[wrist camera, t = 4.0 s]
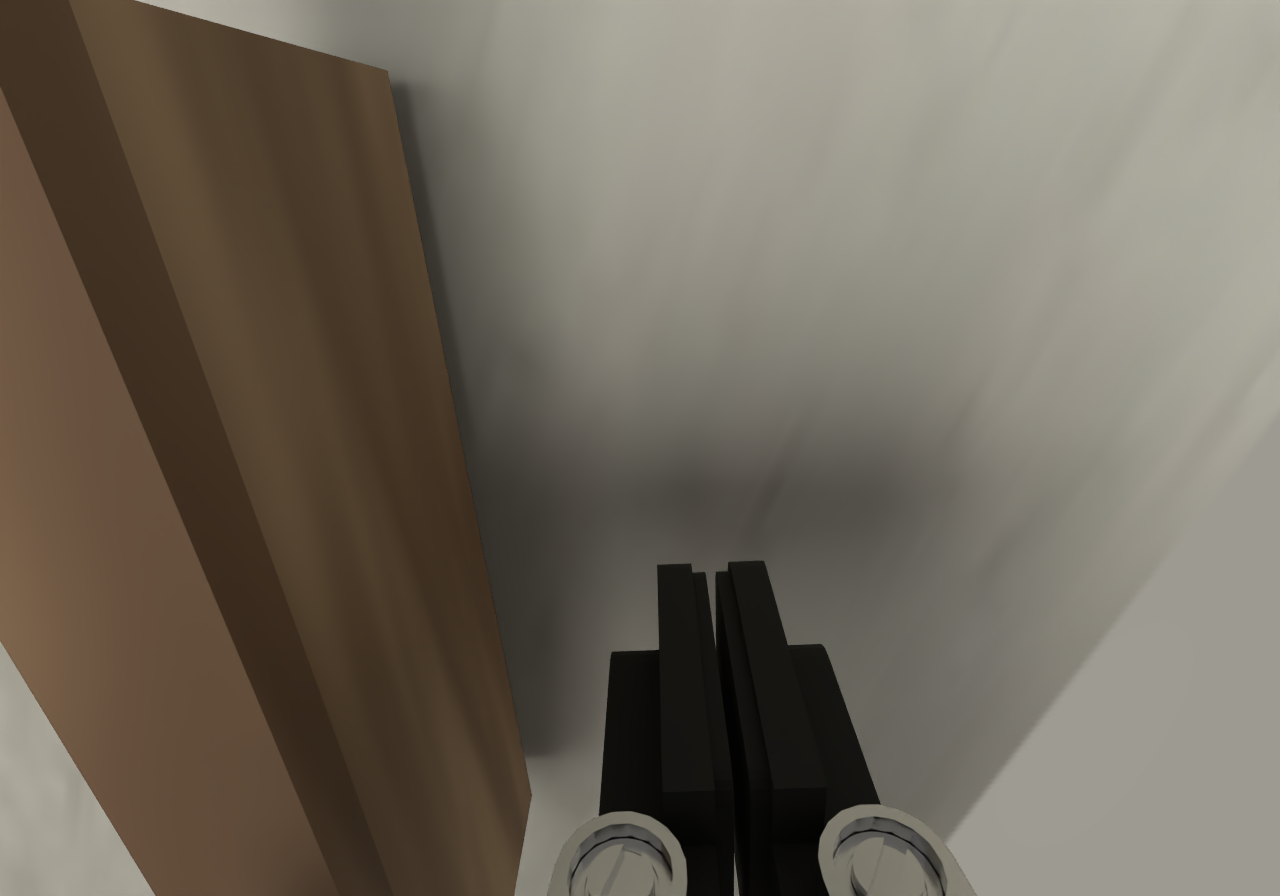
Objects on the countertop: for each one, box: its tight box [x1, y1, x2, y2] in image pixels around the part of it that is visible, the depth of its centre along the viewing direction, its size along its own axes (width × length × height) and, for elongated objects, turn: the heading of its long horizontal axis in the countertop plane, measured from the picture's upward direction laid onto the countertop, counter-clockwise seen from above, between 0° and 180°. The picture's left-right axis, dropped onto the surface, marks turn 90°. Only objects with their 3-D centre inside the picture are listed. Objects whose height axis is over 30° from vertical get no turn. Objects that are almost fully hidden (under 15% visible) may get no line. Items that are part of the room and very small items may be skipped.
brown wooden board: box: [0, 0, 532, 896], centre depth 10 cm, size 2×16×7 cm, turn 4°
